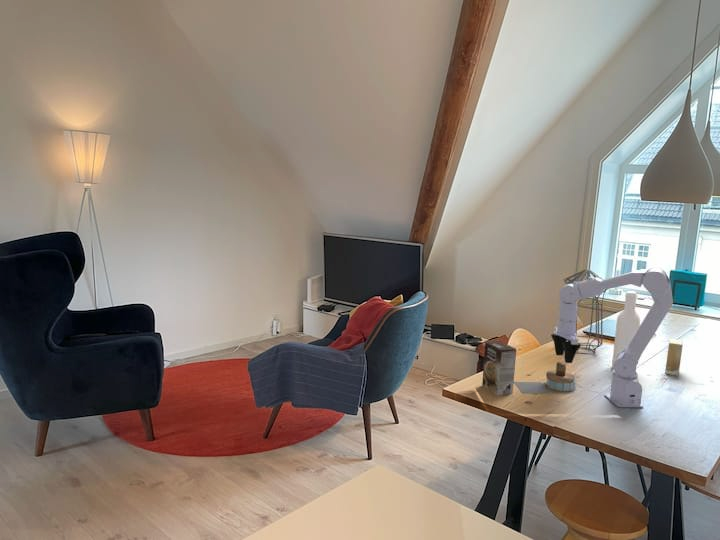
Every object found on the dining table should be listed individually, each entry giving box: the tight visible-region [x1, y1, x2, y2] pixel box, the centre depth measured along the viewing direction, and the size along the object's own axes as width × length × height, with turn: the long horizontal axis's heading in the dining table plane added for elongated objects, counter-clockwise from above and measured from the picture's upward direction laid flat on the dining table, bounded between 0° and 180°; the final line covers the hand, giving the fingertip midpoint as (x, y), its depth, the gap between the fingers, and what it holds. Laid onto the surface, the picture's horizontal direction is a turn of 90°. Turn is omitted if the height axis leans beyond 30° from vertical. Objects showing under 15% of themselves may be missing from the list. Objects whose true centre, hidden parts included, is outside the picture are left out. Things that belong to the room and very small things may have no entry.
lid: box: [545, 361, 576, 383], centre depth 176 cm, size 9×9×5 cm
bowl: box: [546, 377, 577, 392], centre depth 177 cm, size 9×9×4 cm
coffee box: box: [481, 340, 517, 396], centre depth 172 cm, size 9×6×16 cm
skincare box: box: [664, 338, 684, 377], centre depth 194 cm, size 6×4×12 cm
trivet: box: [513, 381, 553, 395], centre depth 175 cm, size 10×10×1 cm
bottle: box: [611, 290, 641, 370], centre depth 195 cm, size 8×8×30 cm
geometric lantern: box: [563, 269, 608, 355], centre depth 216 cm, size 16×16×35 cm
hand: (563, 358), depth 176 cm, fingers open, 7 cm apart
